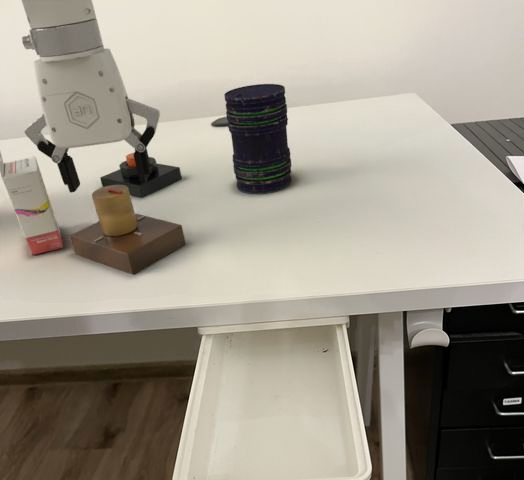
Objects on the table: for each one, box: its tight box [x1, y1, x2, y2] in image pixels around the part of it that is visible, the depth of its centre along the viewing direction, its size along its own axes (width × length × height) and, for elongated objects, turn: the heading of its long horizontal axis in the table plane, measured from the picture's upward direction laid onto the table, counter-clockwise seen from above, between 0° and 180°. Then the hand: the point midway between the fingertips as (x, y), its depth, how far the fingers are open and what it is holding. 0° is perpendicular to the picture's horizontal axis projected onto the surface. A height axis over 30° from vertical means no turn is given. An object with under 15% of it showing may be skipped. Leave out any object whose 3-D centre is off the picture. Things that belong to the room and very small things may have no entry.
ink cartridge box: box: [0, 151, 64, 256], centre depth 81 cm, size 9×5×15 cm, turn 22°
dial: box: [91, 185, 138, 236], centre depth 77 cm, size 5×5×6 cm
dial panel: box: [69, 212, 186, 275], centre depth 79 cm, size 13×10×3 cm
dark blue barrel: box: [223, 83, 293, 195], centre depth 91 cm, size 10×10×15 cm
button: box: [125, 152, 136, 167], centre depth 100 cm, size 4×4×2 cm
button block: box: [99, 156, 183, 199], centre depth 101 cm, size 11×10×4 cm
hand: (110, 184), depth 74 cm, fingers open, 9 cm apart
